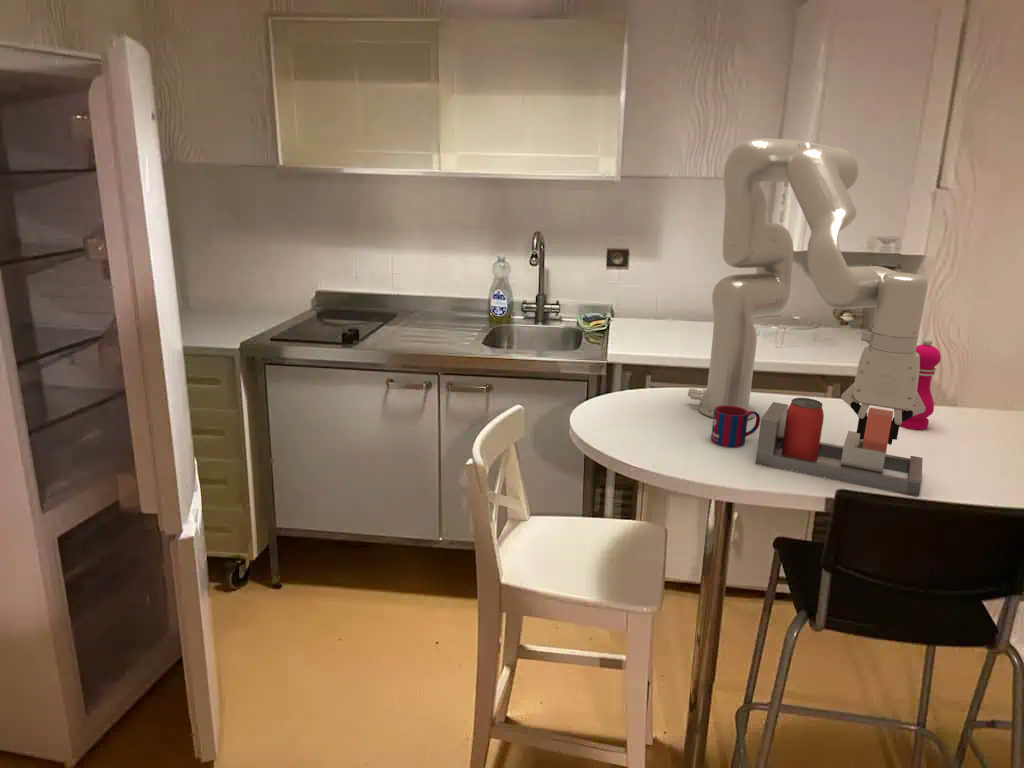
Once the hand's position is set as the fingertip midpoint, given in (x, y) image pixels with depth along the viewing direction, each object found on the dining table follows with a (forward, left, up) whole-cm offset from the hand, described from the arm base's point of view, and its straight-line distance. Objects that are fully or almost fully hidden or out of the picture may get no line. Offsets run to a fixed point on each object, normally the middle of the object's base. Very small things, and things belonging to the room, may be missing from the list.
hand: (876, 438), depth 141 cm
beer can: (-13, 0, -7) cm, 15 cm away
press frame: (-6, 0, -7) cm, 9 cm away
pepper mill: (+6, +36, -7) cm, 37 cm away
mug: (-26, +4, -7) cm, 27 cm away
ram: (-1, 0, -7) cm, 7 cm away
